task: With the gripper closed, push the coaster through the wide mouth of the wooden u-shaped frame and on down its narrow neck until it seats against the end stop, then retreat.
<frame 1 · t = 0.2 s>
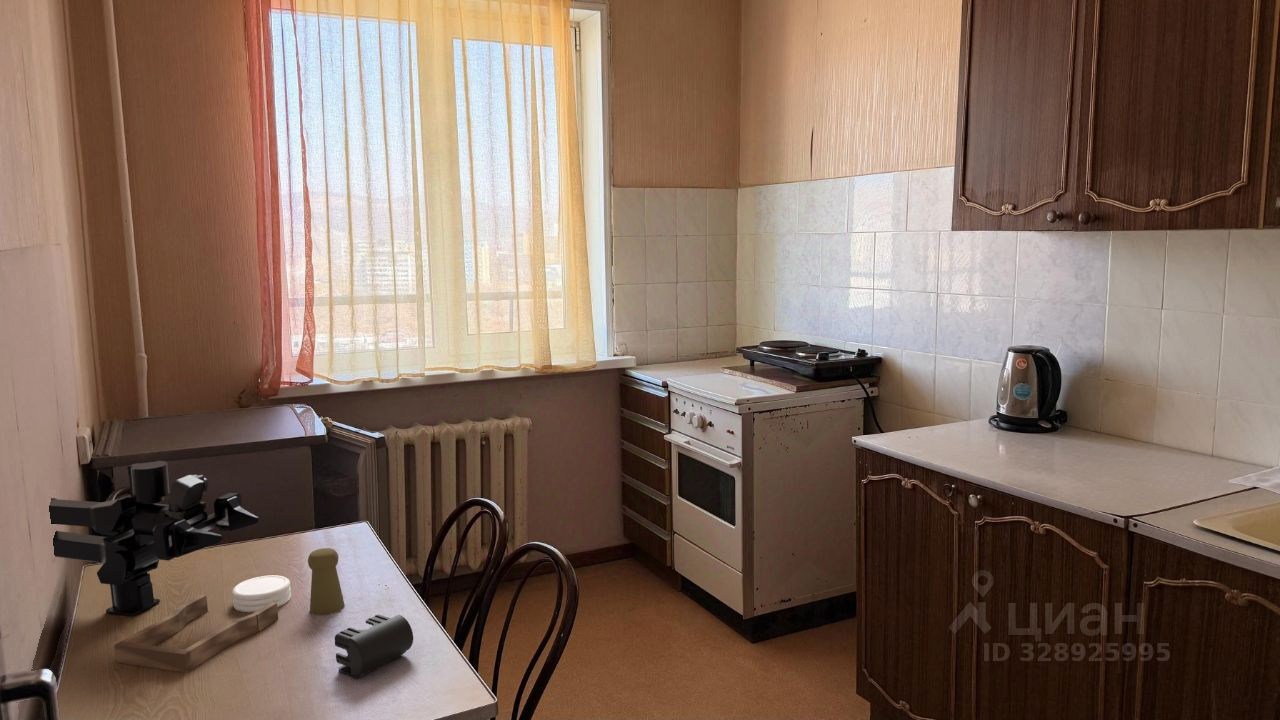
hand: (240, 529, 155), 17 cm above the table, tool horizontal, fingers open, 9 cm apart
coaster: (263, 603, 166), on the table
end cap: (375, 666, 140), on the table
wooden u-shaped frame: (198, 639, 151), on the table
cork: (327, 609, 162), on the table
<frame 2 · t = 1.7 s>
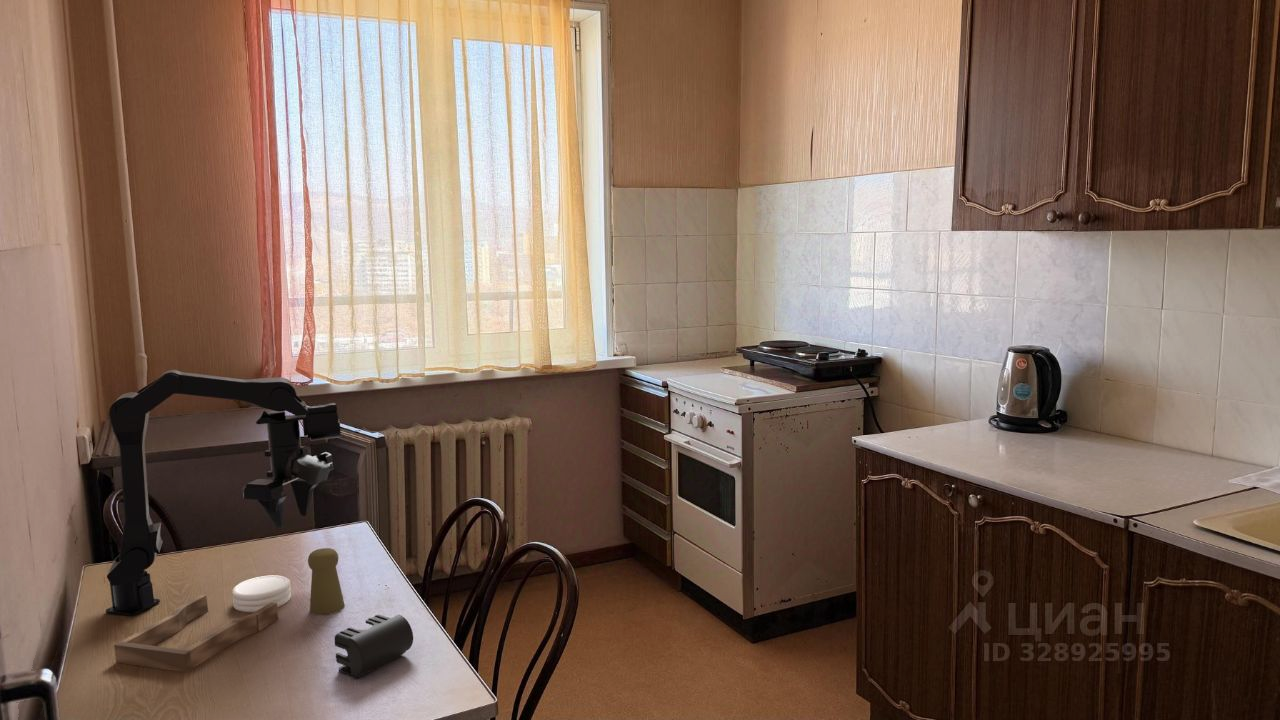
hand: (292, 521, 174), 12 cm above the table, tool pointing down, fingers open, 7 cm apart
nothing on the table moved.
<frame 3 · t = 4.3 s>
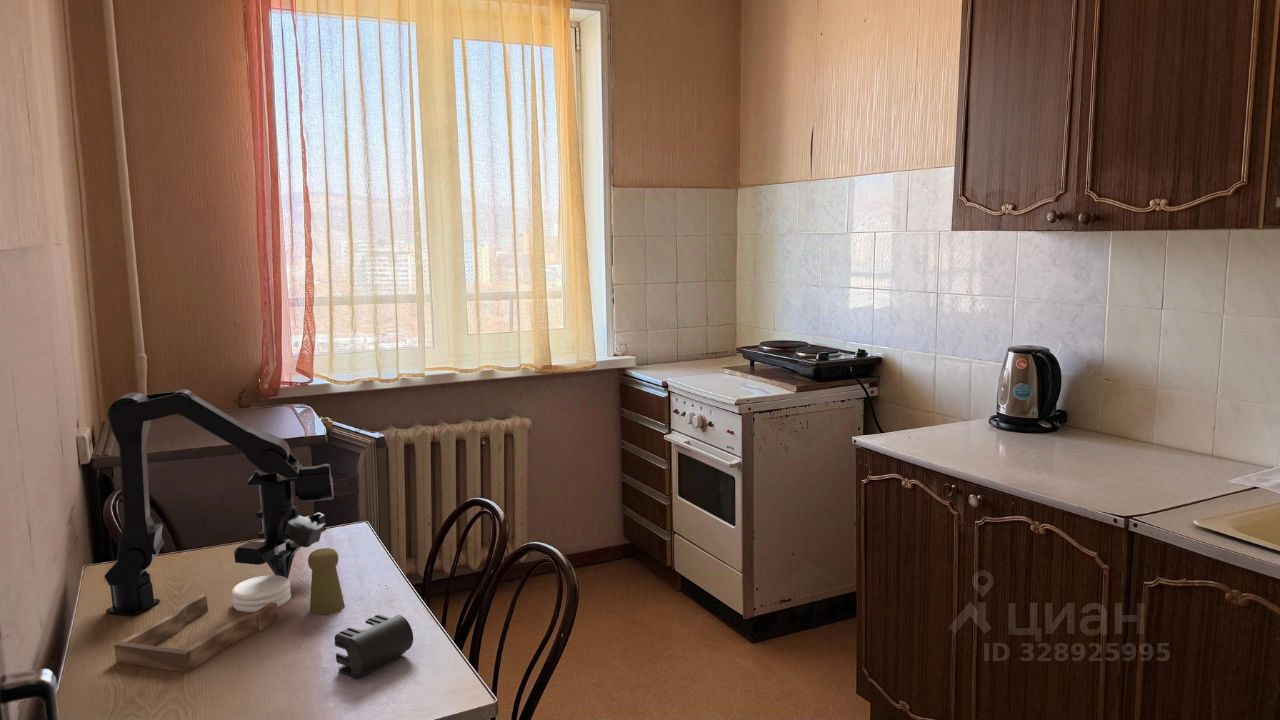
hand: (283, 582, 172), 1 cm above the table, tool pointing down, fingers closed
coaster: (262, 603, 166), on the table, touching gripper
everything else where it was.
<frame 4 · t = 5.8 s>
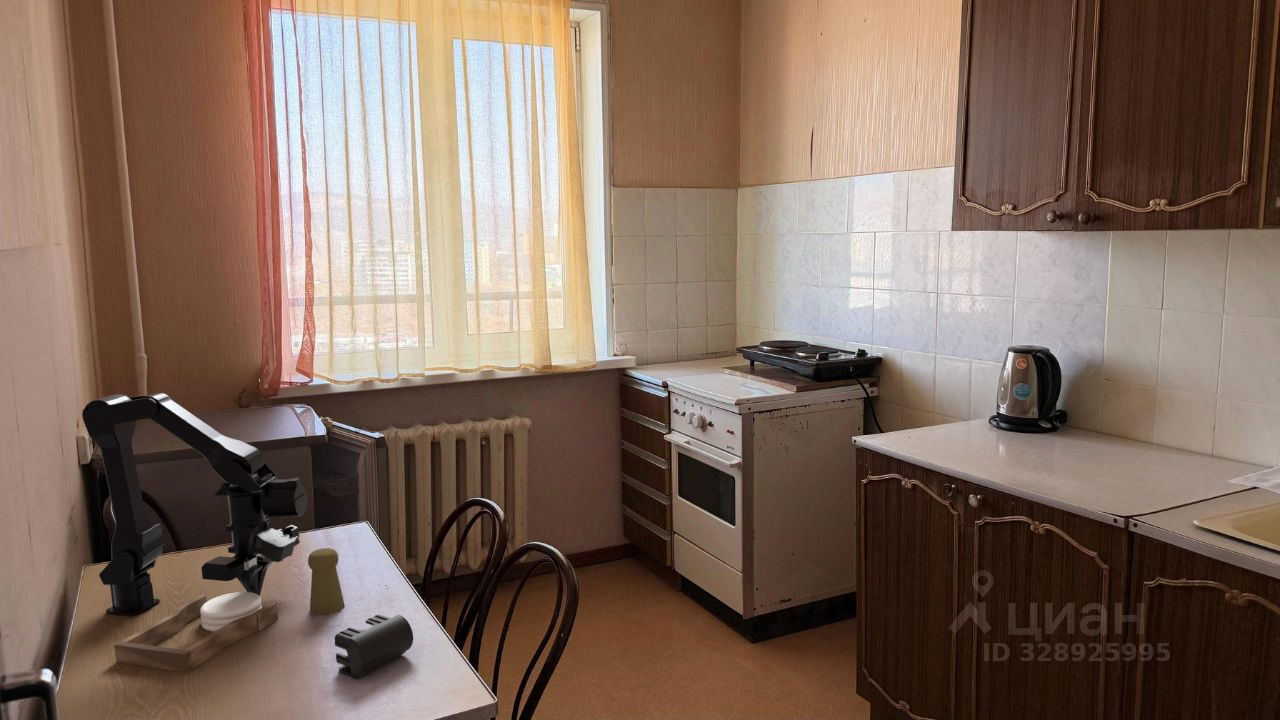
hand: (255, 598, 164), 1 cm above the table, tool pointing down, fingers closed
coaster: (232, 621, 158), on the table, touching gripper
everything else where it was.
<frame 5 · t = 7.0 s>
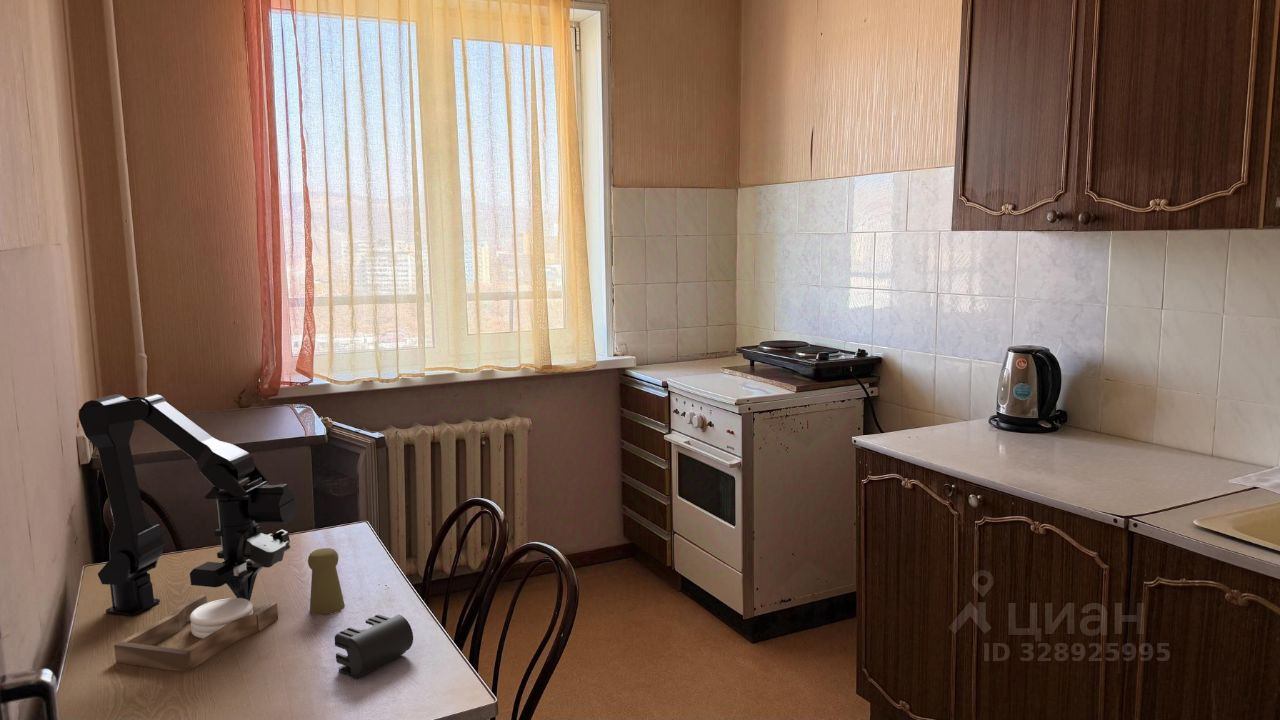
hand: (245, 604, 161), 1 cm above the table, tool pointing down, fingers closed
coaster: (223, 628, 156), on the table, touching gripper
everything else where it was.
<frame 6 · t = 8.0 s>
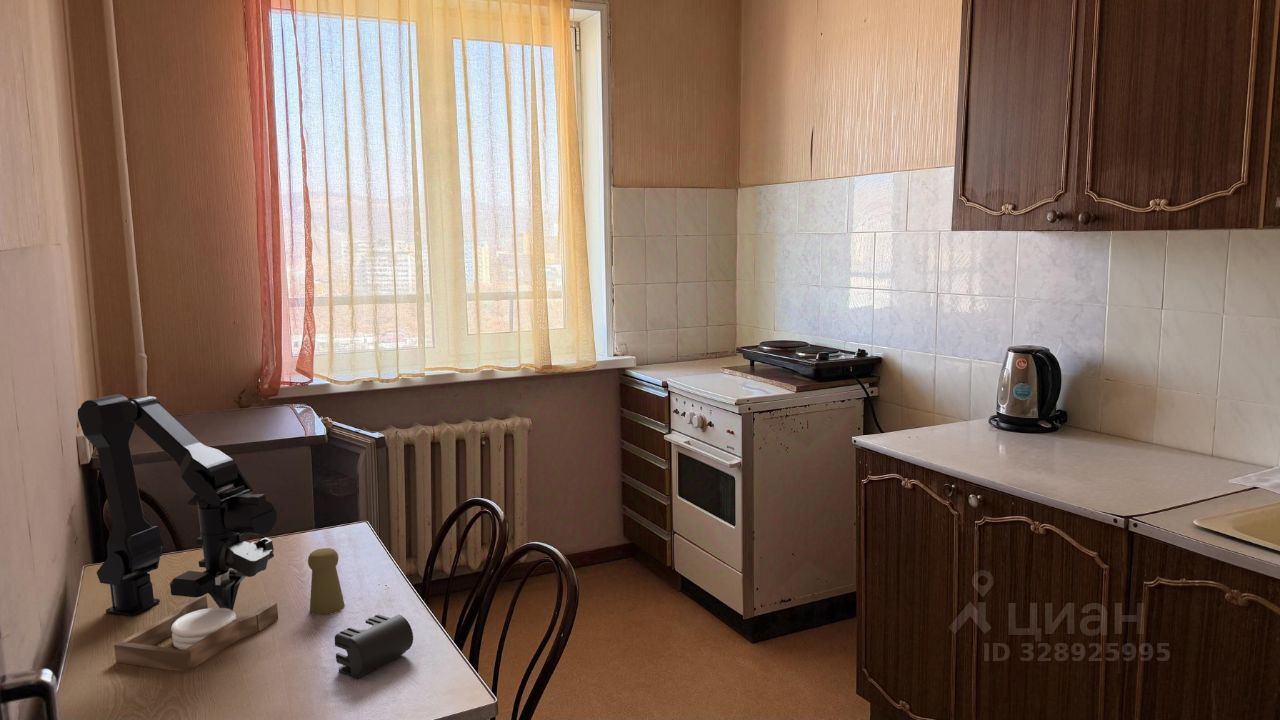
hand: (228, 614, 157), 1 cm above the table, tool pointing down, fingers closed
coaster: (206, 639, 151), on the table, touching gripper
everything else where it was.
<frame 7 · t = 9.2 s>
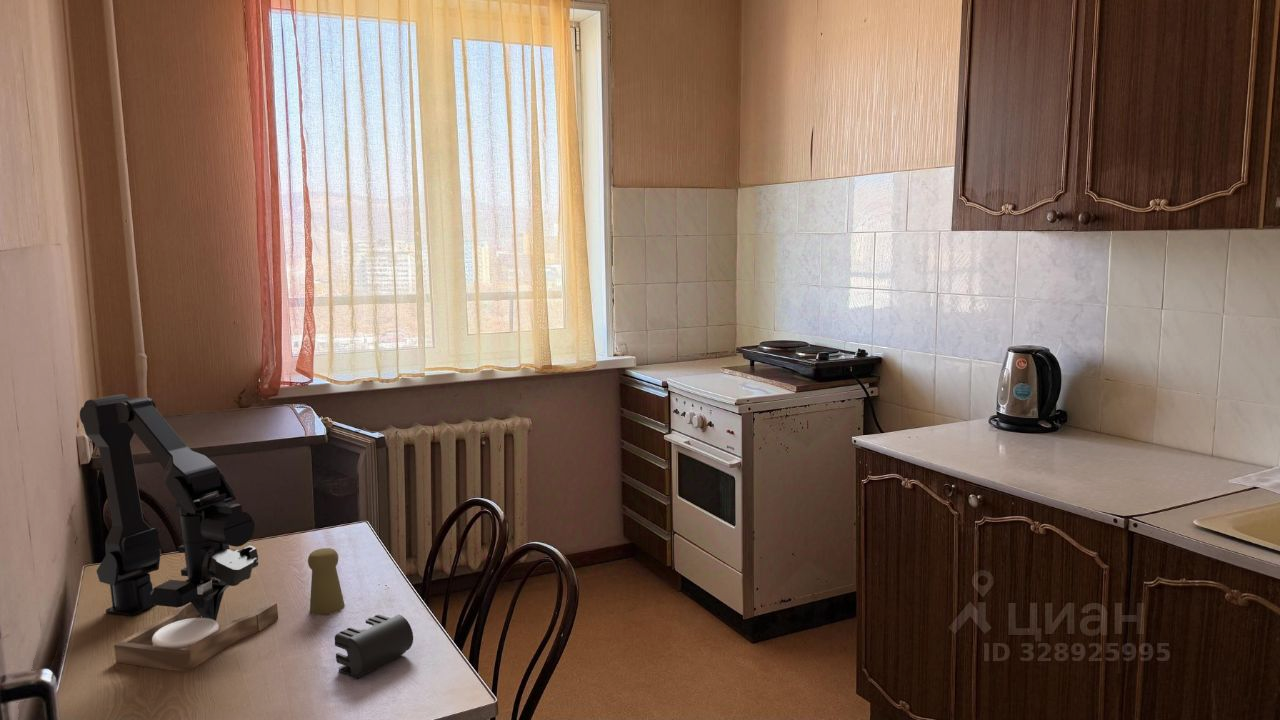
hand: (211, 624, 153), 1 cm above the table, tool pointing down, fingers closed
coaster: (187, 650, 148), on the table
everything else where it was.
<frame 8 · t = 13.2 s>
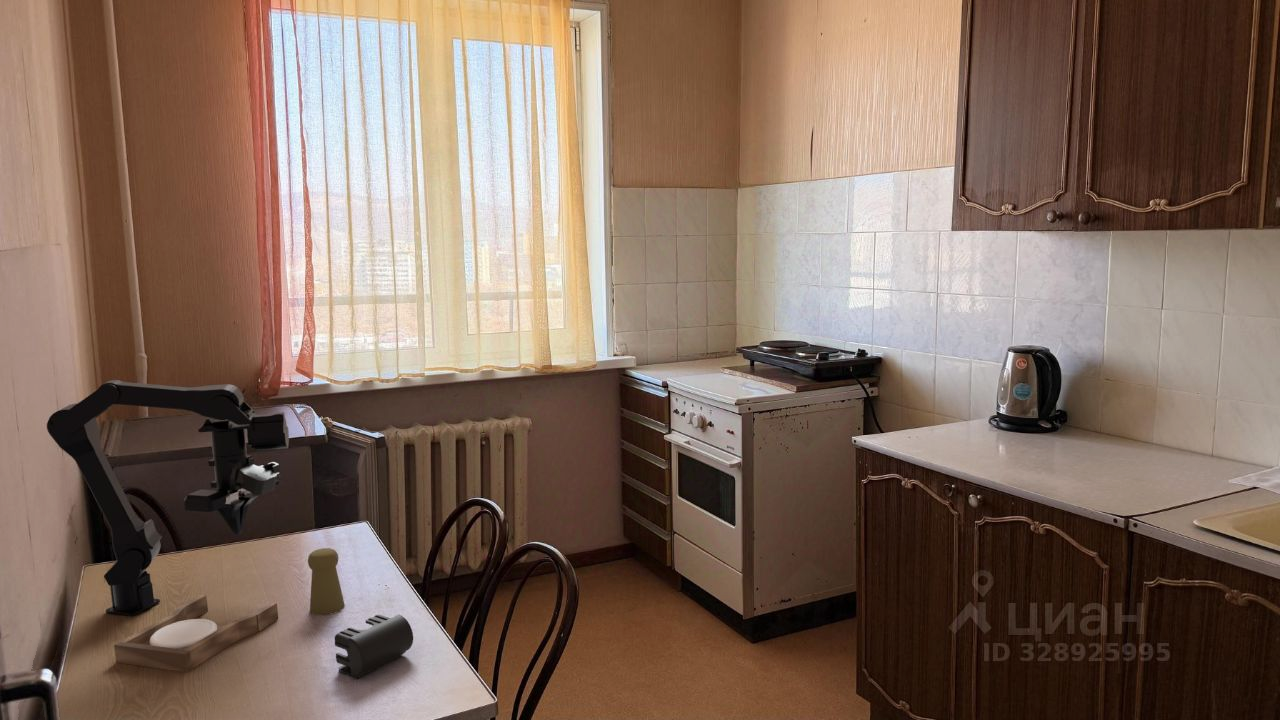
hand: (237, 533, 168), 12 cm above the table, tool pointing down, fingers closed
nothing on the table moved.
at the end: coaster 0.7 cm from the target spot on the wooden u-shaped frame, point -0.5 cm above the wooden u-shaped frame's base; coaster moved 19.6 cm from its start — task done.
